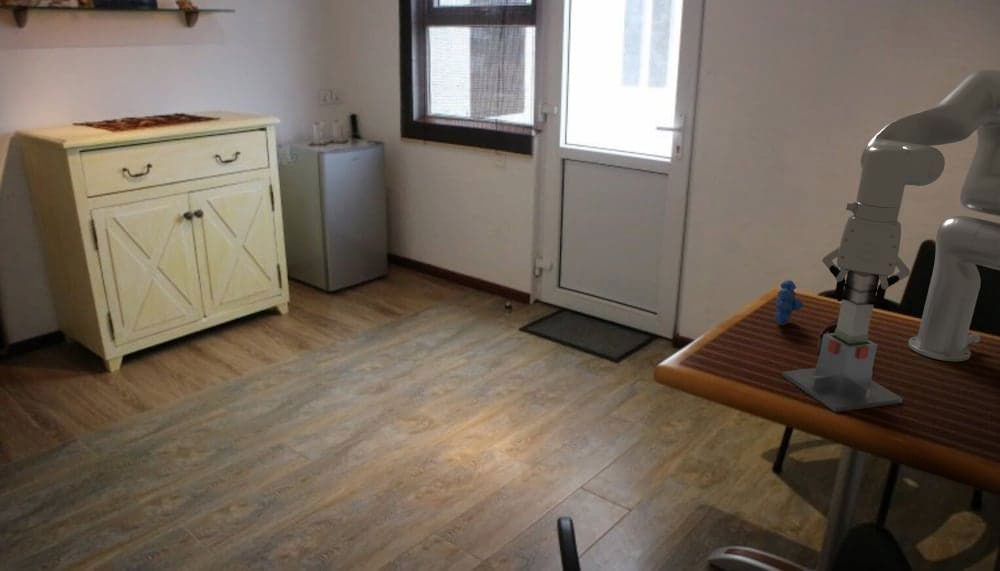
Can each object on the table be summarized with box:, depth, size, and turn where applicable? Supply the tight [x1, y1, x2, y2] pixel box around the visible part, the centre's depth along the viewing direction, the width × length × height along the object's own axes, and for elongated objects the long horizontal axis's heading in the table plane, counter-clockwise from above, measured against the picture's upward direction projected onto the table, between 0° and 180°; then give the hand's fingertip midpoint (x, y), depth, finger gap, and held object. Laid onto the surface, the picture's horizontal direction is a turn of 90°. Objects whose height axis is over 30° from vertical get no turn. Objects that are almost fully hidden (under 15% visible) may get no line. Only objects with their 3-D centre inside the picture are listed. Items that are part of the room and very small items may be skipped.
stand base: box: [781, 333, 904, 413], centre depth 151 cm, size 16×16×11 cm
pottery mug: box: [816, 320, 838, 355], centre depth 170 cm, size 12×10×8 cm
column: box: [834, 271, 880, 346], centre depth 148 cm, size 4×4×19 cm
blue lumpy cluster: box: [774, 279, 805, 326], centre depth 183 cm, size 12×7×12 cm, turn 150°
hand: (857, 301), depth 147 cm, fingers closed on column, 5 cm apart
